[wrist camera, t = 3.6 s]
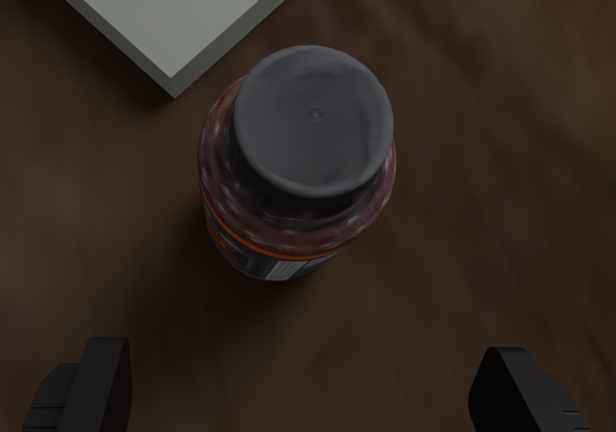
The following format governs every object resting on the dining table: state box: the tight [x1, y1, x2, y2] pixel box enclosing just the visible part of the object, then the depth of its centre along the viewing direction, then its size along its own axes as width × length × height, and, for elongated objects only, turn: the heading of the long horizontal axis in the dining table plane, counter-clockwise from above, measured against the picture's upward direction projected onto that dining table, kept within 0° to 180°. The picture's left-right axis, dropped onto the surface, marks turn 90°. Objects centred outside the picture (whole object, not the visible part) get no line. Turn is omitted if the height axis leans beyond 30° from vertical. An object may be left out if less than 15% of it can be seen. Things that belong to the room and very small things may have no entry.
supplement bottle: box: [197, 45, 396, 282], centre depth 18 cm, size 6×6×11 cm
